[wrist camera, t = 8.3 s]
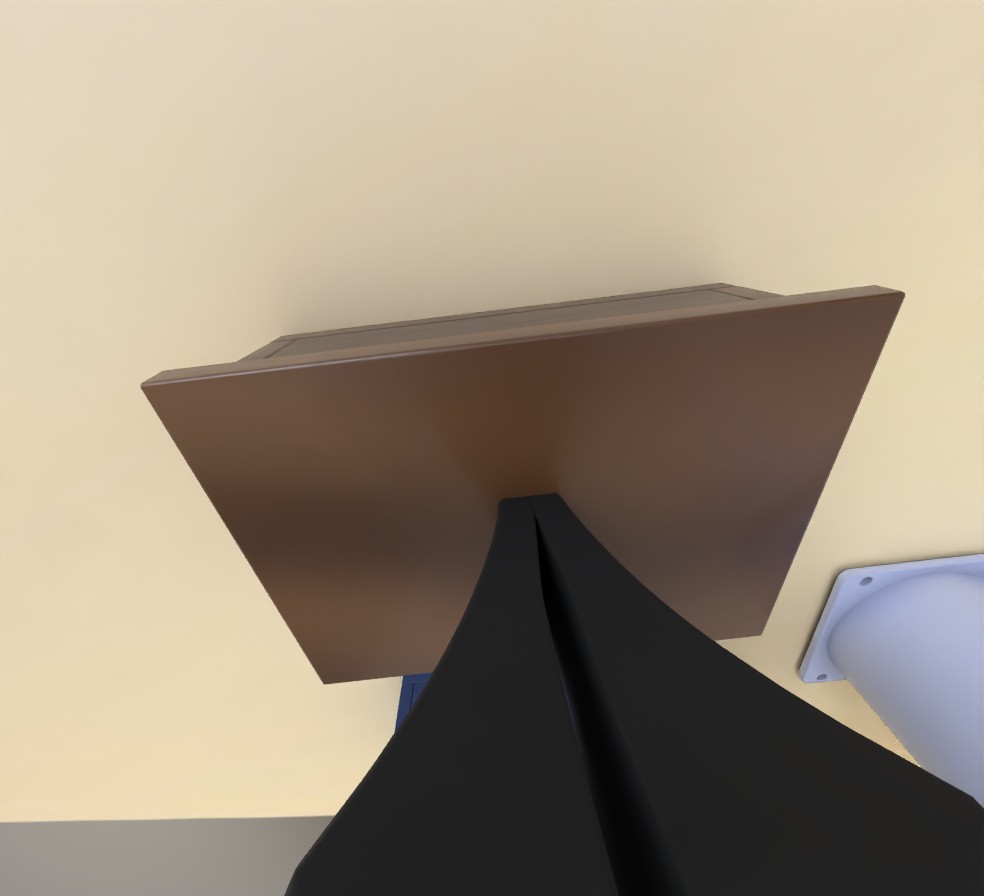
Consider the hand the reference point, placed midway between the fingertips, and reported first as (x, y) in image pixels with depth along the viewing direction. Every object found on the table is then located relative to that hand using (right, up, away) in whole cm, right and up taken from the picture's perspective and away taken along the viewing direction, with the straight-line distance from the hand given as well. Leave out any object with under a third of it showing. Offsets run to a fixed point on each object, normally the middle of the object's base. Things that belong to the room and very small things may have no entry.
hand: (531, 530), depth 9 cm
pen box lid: (0, 0, +1) cm, 1 cm away
